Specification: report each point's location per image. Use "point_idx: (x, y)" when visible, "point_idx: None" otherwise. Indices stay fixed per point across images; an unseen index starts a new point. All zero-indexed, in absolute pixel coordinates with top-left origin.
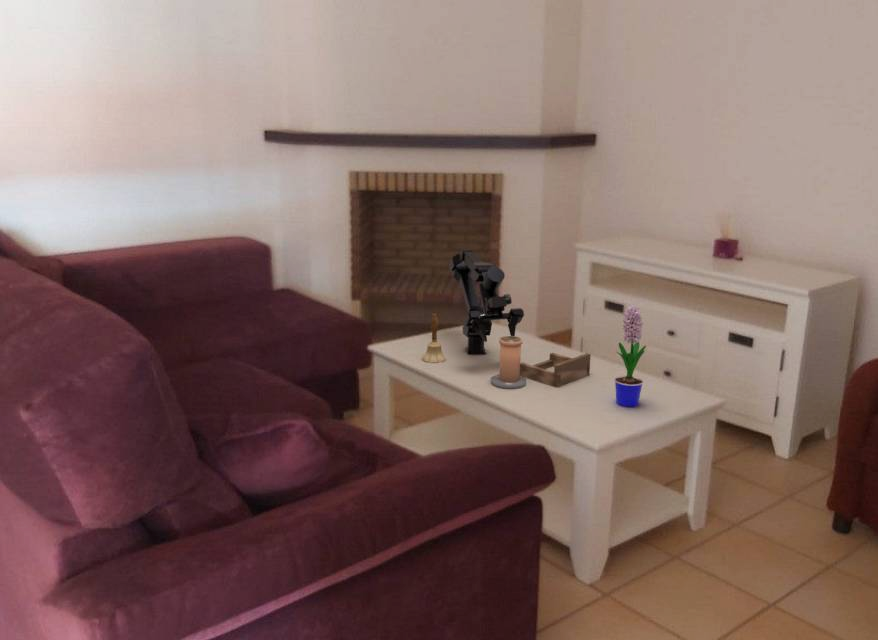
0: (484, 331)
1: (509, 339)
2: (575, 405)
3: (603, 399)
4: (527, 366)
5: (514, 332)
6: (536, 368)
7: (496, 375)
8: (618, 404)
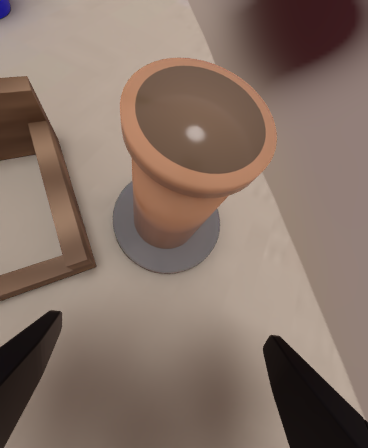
0: (331, 406)
1: (216, 114)
2: (102, 52)
3: (13, 40)
4: (77, 224)
5: (2, 351)
6: (63, 186)
7: (187, 263)
8: (9, 9)
